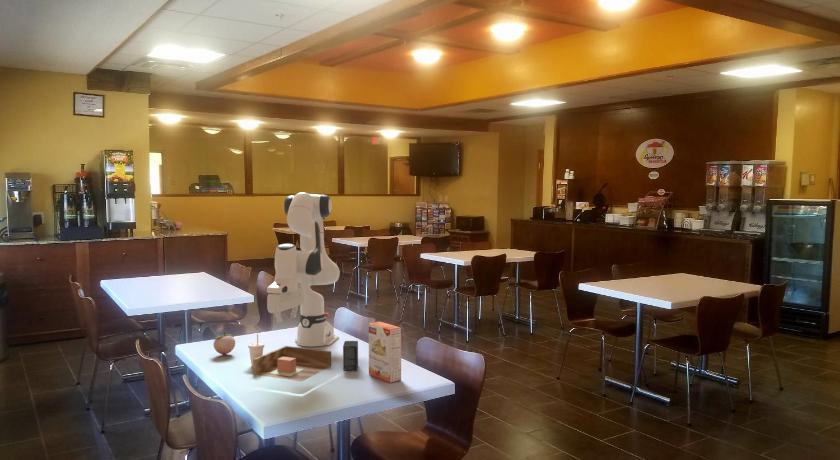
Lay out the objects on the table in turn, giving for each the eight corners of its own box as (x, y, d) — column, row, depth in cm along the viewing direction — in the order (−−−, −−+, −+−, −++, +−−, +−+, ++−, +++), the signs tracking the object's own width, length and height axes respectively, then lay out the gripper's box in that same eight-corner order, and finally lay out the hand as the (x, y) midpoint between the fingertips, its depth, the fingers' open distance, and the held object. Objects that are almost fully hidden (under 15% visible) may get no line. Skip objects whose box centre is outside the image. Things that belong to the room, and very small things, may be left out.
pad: (283, 366, 242) (283, 366, 242) (304, 369, 239) (304, 369, 239) (268, 373, 233) (268, 373, 233) (290, 376, 229) (290, 376, 229)
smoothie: (260, 370, 240) (259, 336, 239) (245, 369, 241) (245, 335, 240) (267, 365, 246) (267, 332, 245) (253, 364, 247) (252, 331, 246)
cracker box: (367, 375, 235) (367, 322, 234) (380, 372, 239) (380, 320, 237) (389, 383, 224) (389, 329, 223) (401, 380, 228) (402, 326, 227)
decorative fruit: (223, 359, 256) (223, 336, 255) (210, 356, 260) (210, 333, 259) (240, 354, 264) (239, 331, 263) (227, 351, 268) (226, 329, 267)
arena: (285, 361, 253) (285, 345, 252) (331, 367, 245) (331, 351, 244) (253, 376, 232) (253, 359, 232) (301, 383, 224) (301, 365, 224)
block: (296, 370, 237) (296, 358, 236) (290, 373, 233) (290, 360, 233) (283, 368, 239) (283, 356, 239) (277, 371, 235) (277, 359, 235)
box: (344, 365, 247) (344, 340, 247) (358, 365, 248) (358, 340, 247) (342, 371, 239) (342, 345, 239) (357, 371, 240) (357, 345, 239)
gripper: (294, 281, 244) (294, 314, 246) (264, 288, 226) (264, 324, 227) (307, 282, 242) (307, 315, 243) (278, 290, 223) (278, 326, 224)
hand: (286, 320), depth 235 cm, fingers open, 8 cm apart
